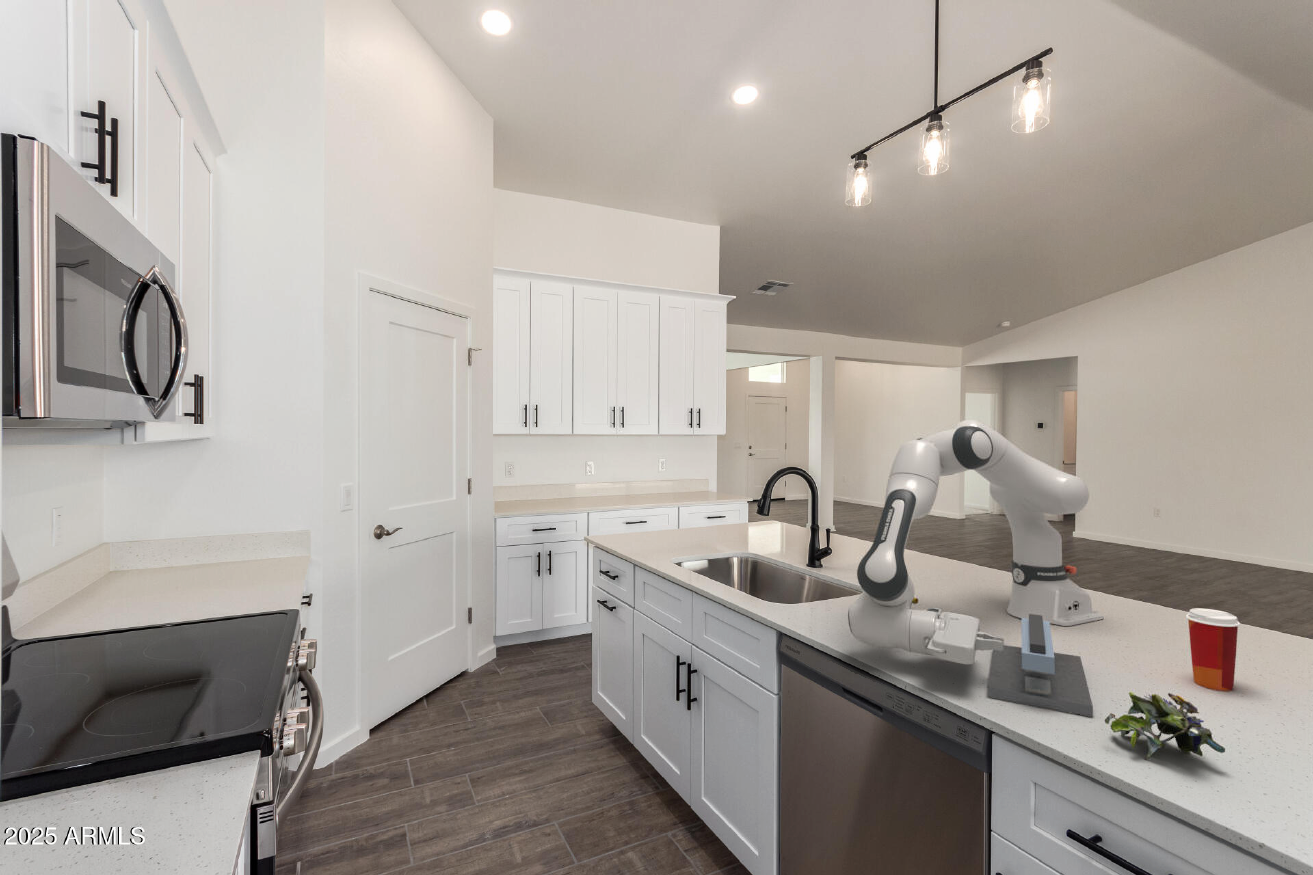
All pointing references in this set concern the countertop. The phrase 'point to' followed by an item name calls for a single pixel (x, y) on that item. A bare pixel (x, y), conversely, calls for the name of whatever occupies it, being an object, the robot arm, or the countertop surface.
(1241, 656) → the countertop surface
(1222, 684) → the paper cup
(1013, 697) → the dark grey base plate
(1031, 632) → the bar
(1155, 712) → the passion flower
